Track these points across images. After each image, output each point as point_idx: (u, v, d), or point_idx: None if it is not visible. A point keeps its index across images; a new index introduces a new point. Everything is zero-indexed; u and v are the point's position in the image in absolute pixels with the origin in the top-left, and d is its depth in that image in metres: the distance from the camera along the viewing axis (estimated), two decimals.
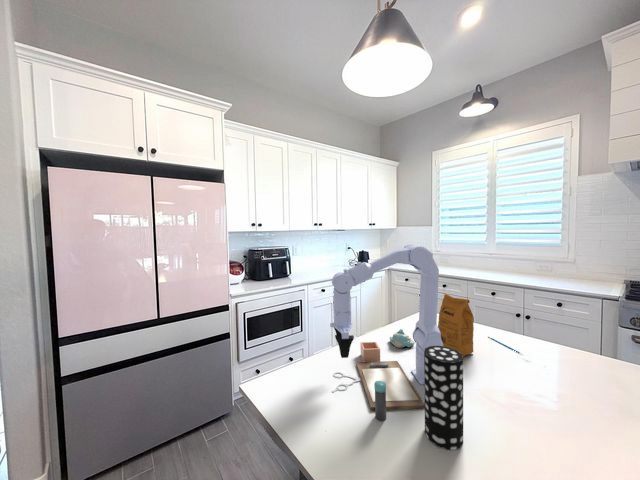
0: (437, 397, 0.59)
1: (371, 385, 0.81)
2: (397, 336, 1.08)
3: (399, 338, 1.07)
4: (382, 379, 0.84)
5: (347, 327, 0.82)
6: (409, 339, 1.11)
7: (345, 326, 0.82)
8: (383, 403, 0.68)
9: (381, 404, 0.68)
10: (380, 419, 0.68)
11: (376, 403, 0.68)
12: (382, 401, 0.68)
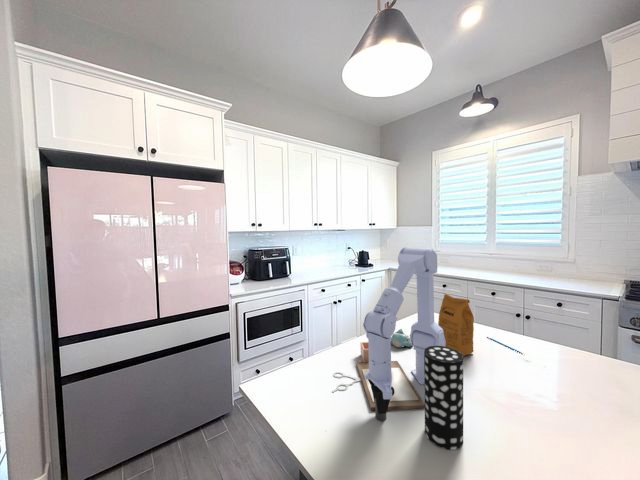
0: (437, 397, 0.59)
1: None
2: (396, 336, 1.08)
3: (398, 338, 1.07)
4: None
5: (387, 381, 0.66)
6: (409, 339, 1.12)
7: (385, 380, 0.66)
8: None
9: None
10: (380, 419, 0.68)
11: None
12: None
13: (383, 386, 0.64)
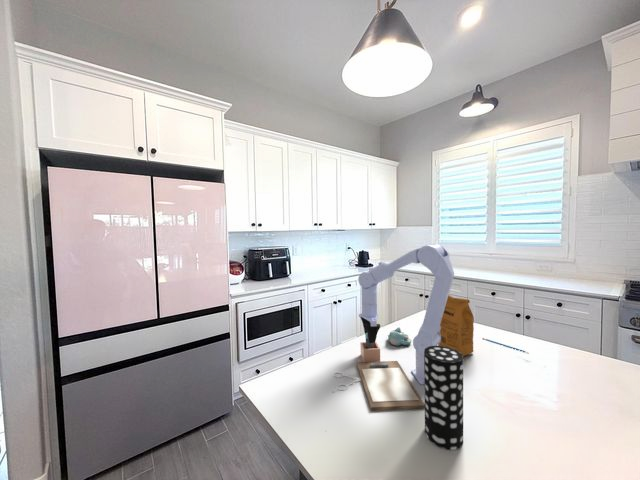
0: (437, 397, 0.59)
1: (371, 385, 0.81)
2: (393, 334, 1.10)
3: (395, 336, 1.09)
4: (382, 379, 0.84)
5: (374, 317, 0.97)
6: (407, 338, 1.13)
7: (372, 316, 0.97)
8: (371, 346, 0.99)
9: (369, 347, 0.98)
10: None
11: (366, 347, 0.99)
12: (370, 345, 0.98)
13: (371, 319, 0.95)
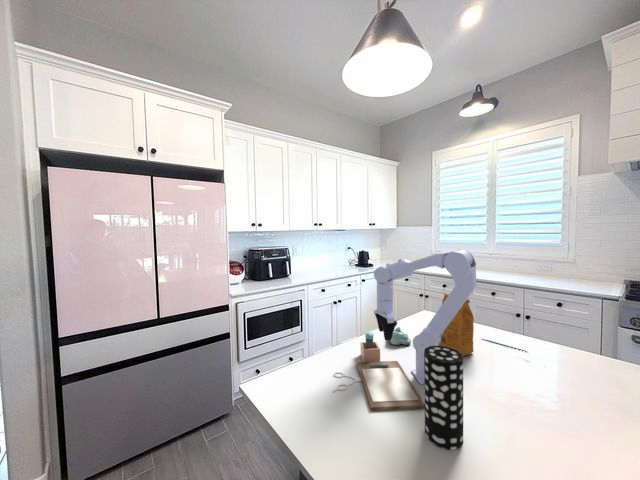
0: (437, 397, 0.59)
1: (371, 385, 0.81)
2: (393, 333, 1.11)
3: (394, 335, 1.10)
4: (382, 379, 0.84)
5: (390, 313, 0.93)
6: (407, 337, 1.13)
7: (388, 312, 0.93)
8: (371, 346, 0.98)
9: (369, 347, 0.98)
10: None
11: (366, 347, 0.99)
12: (370, 345, 0.98)
13: (387, 315, 0.91)
